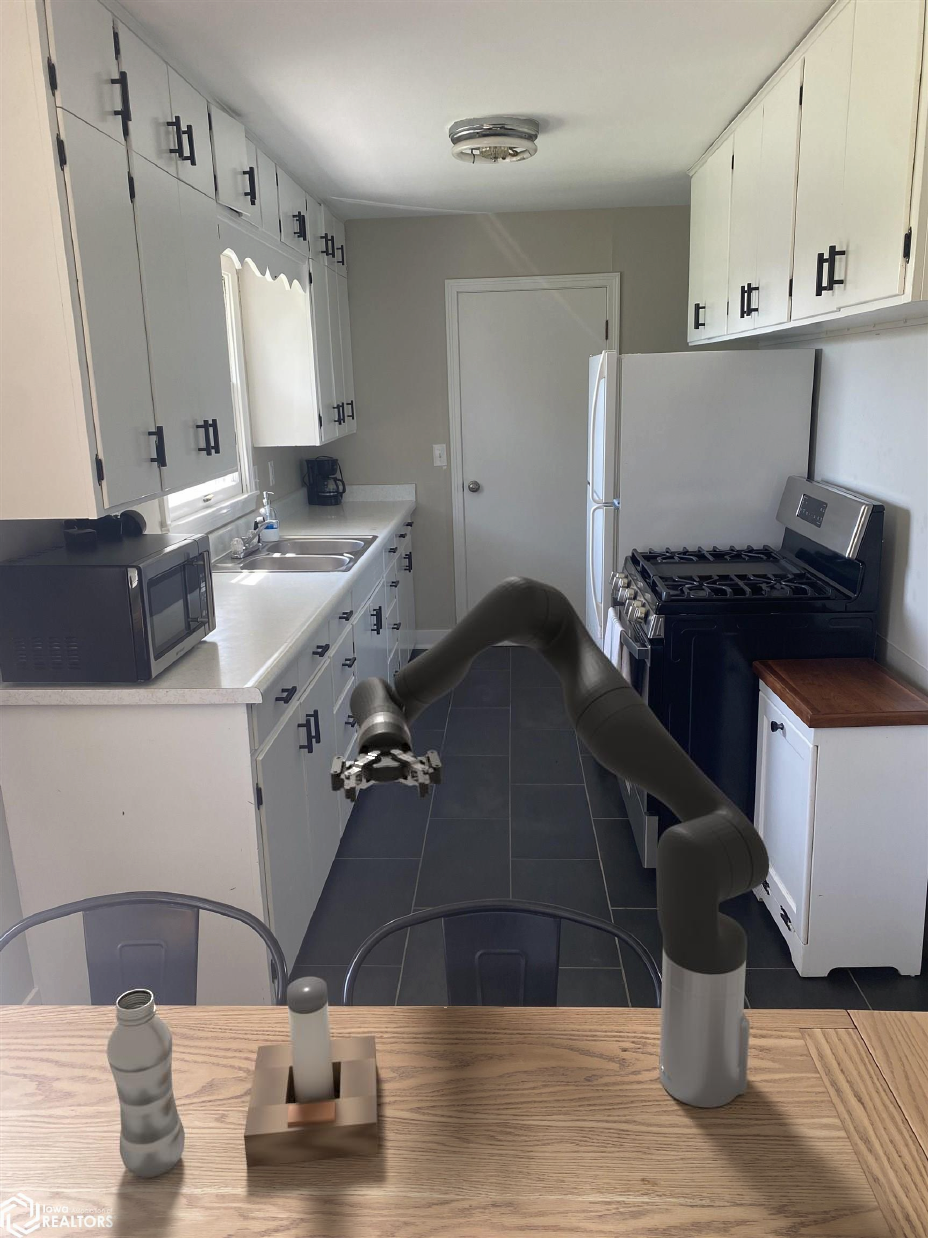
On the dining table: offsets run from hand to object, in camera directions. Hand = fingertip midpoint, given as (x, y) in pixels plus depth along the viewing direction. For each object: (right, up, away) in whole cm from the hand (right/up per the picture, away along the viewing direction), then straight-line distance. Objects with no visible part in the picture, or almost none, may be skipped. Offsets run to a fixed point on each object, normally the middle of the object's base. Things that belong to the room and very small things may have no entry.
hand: (387, 793), depth 115 cm
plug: (-8, -35, -8) cm, 37 cm away
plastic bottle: (-24, -37, -15) cm, 47 cm away
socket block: (-8, -35, -8) cm, 37 cm away
